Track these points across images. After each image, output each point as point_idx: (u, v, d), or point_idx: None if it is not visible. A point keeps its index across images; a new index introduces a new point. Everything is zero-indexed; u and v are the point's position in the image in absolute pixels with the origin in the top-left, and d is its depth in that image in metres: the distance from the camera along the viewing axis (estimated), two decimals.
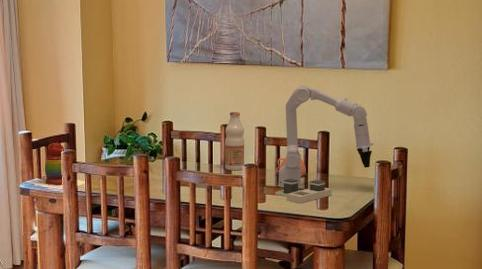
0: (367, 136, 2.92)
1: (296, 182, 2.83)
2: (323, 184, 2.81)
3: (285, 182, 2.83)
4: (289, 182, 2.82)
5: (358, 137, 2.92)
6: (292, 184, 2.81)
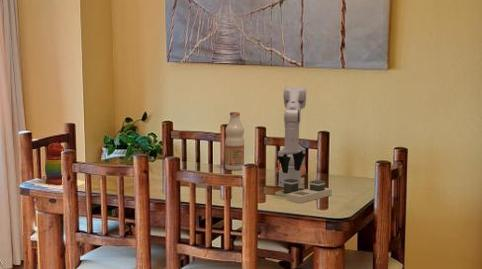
0: (292, 142, 2.79)
1: (296, 182, 2.83)
2: (323, 184, 2.81)
3: (285, 182, 2.83)
4: (289, 182, 2.82)
5: None
6: (292, 184, 2.81)
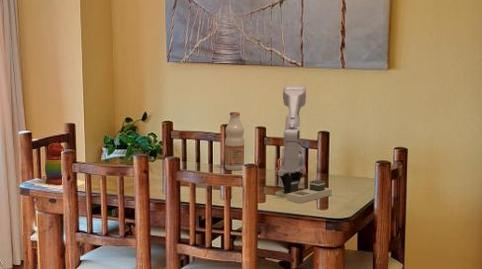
0: (292, 161, 2.80)
1: (296, 182, 2.83)
2: (323, 184, 2.81)
3: None
4: None
5: (284, 160, 2.82)
6: (292, 184, 2.81)
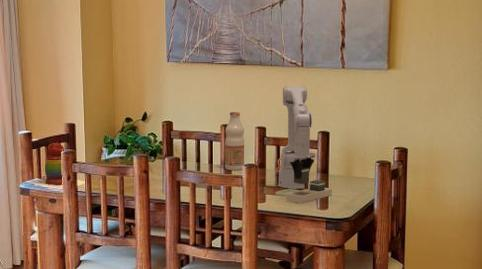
0: (303, 147, 2.70)
1: (307, 170, 2.73)
2: (323, 184, 2.81)
3: None
4: None
5: (295, 145, 2.72)
6: (303, 171, 2.72)
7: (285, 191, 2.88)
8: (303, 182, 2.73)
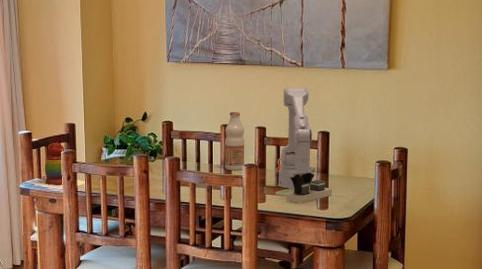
0: (303, 162, 2.71)
1: (307, 184, 2.74)
2: (323, 184, 2.81)
3: None
4: None
5: (295, 160, 2.73)
6: (303, 186, 2.72)
7: (285, 191, 2.88)
8: None
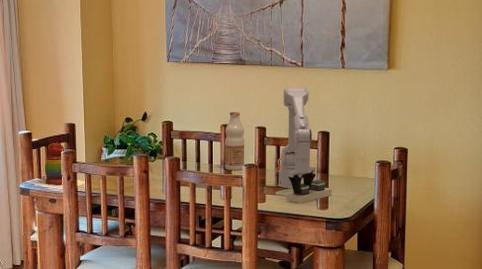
0: (303, 162, 2.71)
1: (307, 187, 2.74)
2: (323, 184, 2.81)
3: None
4: (300, 187, 2.73)
5: (295, 160, 2.73)
6: (303, 189, 2.72)
7: (285, 191, 2.88)
8: None
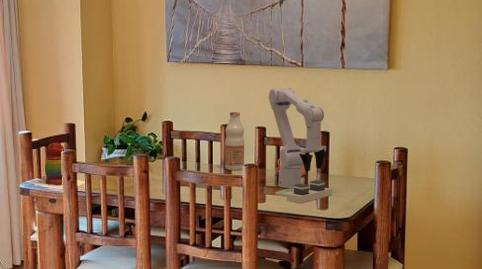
0: (314, 140, 2.82)
1: (307, 187, 2.74)
2: (323, 184, 2.81)
3: (295, 187, 2.74)
4: (300, 187, 2.73)
5: None
6: (303, 189, 2.72)
7: (285, 191, 2.88)
8: None
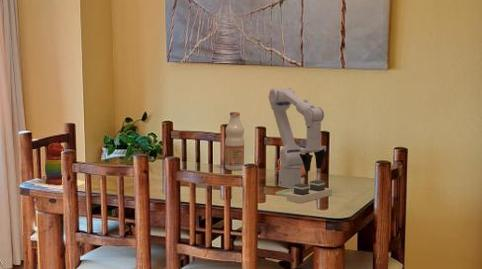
0: (314, 140, 2.82)
1: (307, 187, 2.74)
2: (323, 184, 2.81)
3: (295, 187, 2.74)
4: (300, 187, 2.73)
5: None
6: (303, 189, 2.72)
7: (285, 191, 2.88)
8: None
